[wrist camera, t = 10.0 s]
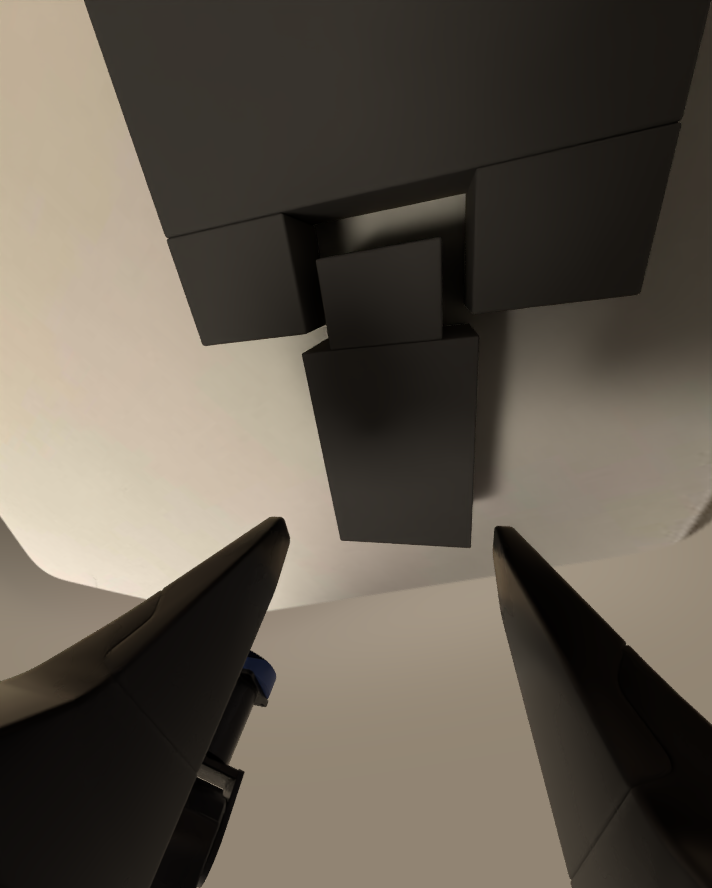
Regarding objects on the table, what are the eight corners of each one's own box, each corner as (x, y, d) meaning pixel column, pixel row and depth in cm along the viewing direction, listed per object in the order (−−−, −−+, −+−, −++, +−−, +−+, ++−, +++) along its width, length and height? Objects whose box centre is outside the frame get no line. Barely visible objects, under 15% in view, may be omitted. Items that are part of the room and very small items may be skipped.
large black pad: (793, -813, 5) (1256, -2214, 2) (592, 289, 11) (641, 294, 8) (75, -254, 8) (-92, -502, 5) (243, 333, 15) (202, 346, 12)
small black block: (472, 239, 11) (483, 228, 9) (465, 505, 16) (470, 548, 14) (313, 266, 13) (282, 264, 10) (353, 502, 18) (340, 541, 15)
